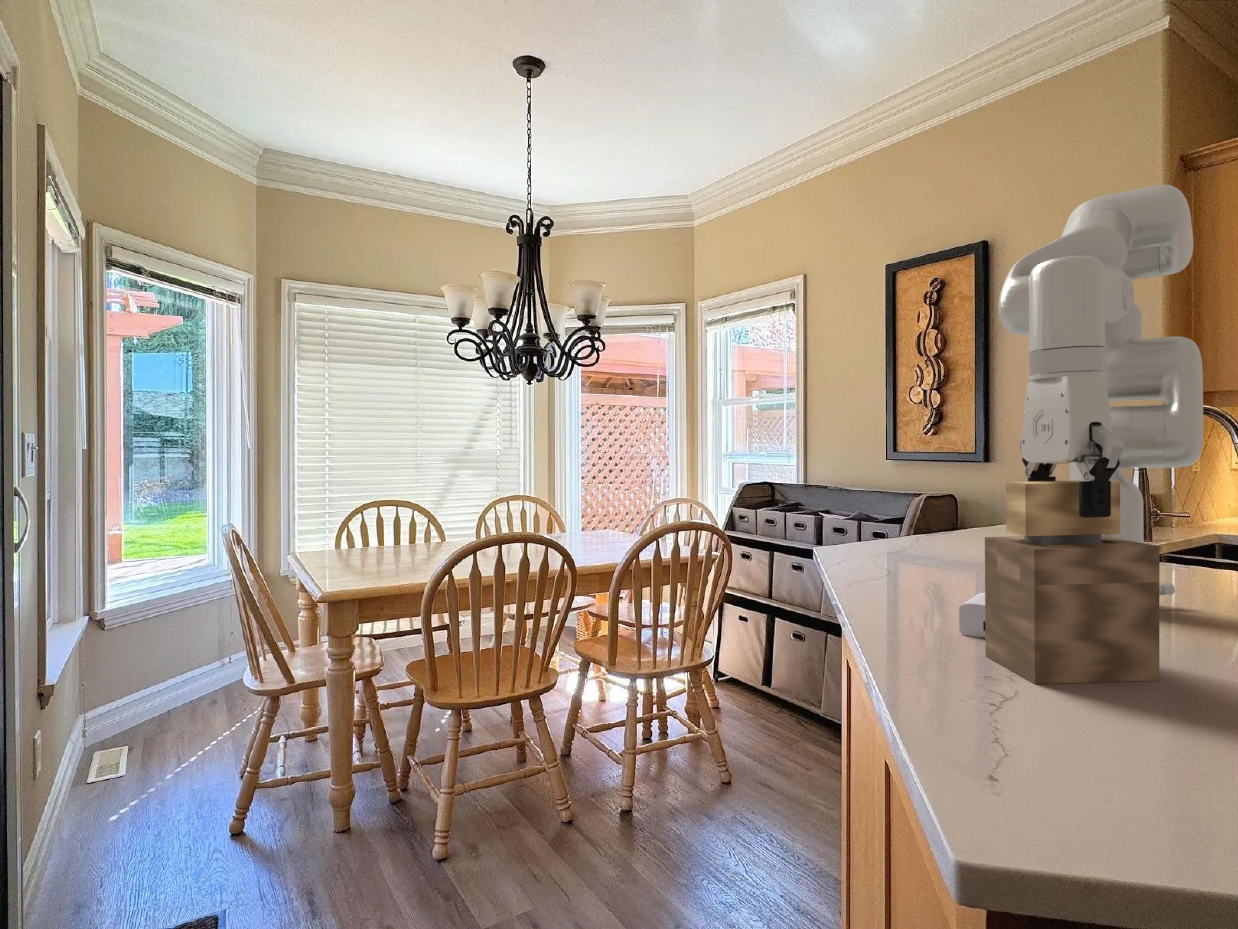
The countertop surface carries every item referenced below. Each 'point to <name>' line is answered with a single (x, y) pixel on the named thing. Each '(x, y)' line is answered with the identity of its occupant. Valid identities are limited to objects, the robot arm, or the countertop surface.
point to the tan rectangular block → (1056, 513)
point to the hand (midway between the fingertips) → (1066, 512)
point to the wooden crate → (1073, 610)
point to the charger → (973, 616)
